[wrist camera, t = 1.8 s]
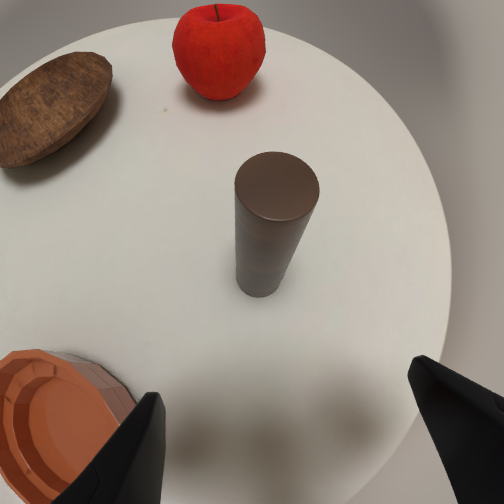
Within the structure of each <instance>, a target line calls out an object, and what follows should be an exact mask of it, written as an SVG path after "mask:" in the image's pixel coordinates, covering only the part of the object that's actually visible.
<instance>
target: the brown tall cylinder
mask: <svg viewBox="0 0 504 504" xmlns="http://www.w3.org/2000/svg"><path fill="white" fill-rule="evenodd" d="M319 192H320V191H319V183H318V180H317V177H316V175H315V173H314V172H313V170H312V169H311V168H310V167H309V166H308V165H307V164H306V163H305V162H304V161H302V160H301V159H299V158H297V157H295V156H293V155H290V154H287V153H283V152H265V153H261V154H257V155H255V156H253V157H251V158H250V159H248V160H247V161H246V162H244V164H243V165H242V166H241V167H240V168H239V170H238V172H237V174H236V177H235V244H236V279H237V283H238V285H239V287H240V288H241V289H242V291H244V292H245V293H246V294H248V295H250V296H253V297H265V296H268V295H270V294H272V293H273V292H274V291H275V290H276V289H277V288H278V286H279V284H280V282H281V280H282V278H283V275H284V273H285V271H286V269H287V267H288V265H289V263H290V261H291V258H292V256H293V254H294V252H295V250H296V248H297V245H298V243H299V241H300V239H301V237H302V235H303V232H304V230H305V228H306V226H307V224H308V221H309V219H310V217H311V215H312V213H313V210H314V208H315V206H316V204H317V201H318V198H319Z"/></svg>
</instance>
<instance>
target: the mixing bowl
mask: <svg viewBox="0 0 504 504" xmlns="http://www.w3.org/2000/svg"><path fill="white" fill-rule="evenodd" d="M135 406H136V404H135V402H134V401H133V399H132V398H131V396H130V395H129V393H128V391H127V390H126V388H125V387H124V386H123V385H122V384H121V383H119V382H118V381H117V380H116V379H114V378H113V377H112V376H111V375H110V374H108V373H107V372H106V371H105V370H104V369H103V368H102V367H100V366H99V365H98V364H95V363H92V362H90V361H87V360H84V359H81V358H79V357H76V356H73V355H70V354H64V353H57V352H52V351H46V350H40V349H32V350H22V351H12V352H11V353H10V354H8V355H7V356H6V357H5V358H3V359H2V360H1V361H0V473H1V475H2V477H3V478H4V480H5V482H6V483H7V485H8V486H9V487H10V488H11V489H12V490H13V491H14V492H15V493H16V494H17V495H18V496H19V497H20V498H21V499H22V500H23V501H24V502H25V503H26V504H50V503H51V502H52V501H53V500H54V499H55V498H56V497H57V496H58V495H59V494H60V493H62V492H63V491H64V490H65V489H66V488H67V487H68V486H69V485H70V484H71V483H72V482H73V481H74V480H75V479H76V478H77V477H78V476H79V475H80V473H81V472H82V471H83V470H84V469H85V468H86V466H87V465H88V464H89V463H90V461H92V459H93V458H94V457H95V455H96V454H97V453H98V452H99V450H100V449H101V448H102V447H103V446H104V444H105V443H106V442H107V441H108V439H109V438H110V437H111V436H112V434H113V433H114V432H115V431H116V429H117V428H118V427H119V426H120V425H121V423H122V422H123V421H124V420H125V418H126V417H127V416H128V415H129V413H130V412H131V411H132V410H133V408H134V407H135Z"/></svg>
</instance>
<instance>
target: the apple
mask: <svg viewBox="0 0 504 504" xmlns="http://www.w3.org/2000/svg"><path fill="white" fill-rule="evenodd" d="M172 48H173V52H174V57H175V61H176V65H177V67H178V69H179V70H180V72H181V74H182V75H183V77H184V79H185V80H186V82H187V83H188V84H189V85H190V86H191V87H193V88H194V89H195V90H196V91H197V92H198V93H199V94H201V95H202V96H204V97H205V98H208V99H210V100H226V99H230V98H233V97H236V96H237V95H238V94H239V93H240V92H241V91H242V90H244V89H245V88H246V87H247V86H248V84H249V83H250V82H251V80H252V79H253V78H254V76H255V75H256V73H257V72H258V70H259V68H260V67H261V65H262V62H263V59H264V56H265V53H266V48H265V34H264V30H263V26H262V24H261V22H260V20H259V18H258V16H257V15H256V14H255V13H253V12H252V11H251V10H249V9H248V8H246V7H245V6H241V5H232V4H213V5H206V6H200V7H196V8H193V9H191V10H189V11H188V12H187V13H186V14H185V15H183V16H182V17H181V19H180V20H179V22H178V24H177V27H176V29H175V31H174V36H173V42H172Z"/></svg>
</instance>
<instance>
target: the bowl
mask: <svg viewBox="0 0 504 504" xmlns="http://www.w3.org/2000/svg"><path fill="white" fill-rule="evenodd" d="M112 77H113V75H112V65H111V64H110V63H109V62H108V61H107V60H106V58H105V57H103V56H101V55H98V54H96V53H94V52H73V53H69V54H66V55H62V56H59V57H57V58H55V59H53V60H51V61H49V62H47V63H45V64H43V65H41V66H40V67H38V68H37V69H35V70H34V71H32V72H31V73H29V74H28V75H26V76H25V77H24V78H23V79H21V80H20V81H19V82H18V83H17V84H15V85H14V86H13V87H12V88H11V89H10V90H9V91H8V92H7V93H6V94H5V95H4V96H3V97H2V98H1V100H0V167H4V168H13V167H18V166H23V165H28V164H31V163H33V162H35V161H37V160H39V159H41V158H44V157H46V156H48V155H50V154H52V153H54V152H55V151H57V150H58V149H59V148H61V147H62V146H64V145H65V144H66V143H68V142H69V141H71V140H72V139H73V138H74V137H75V136H76V135H77V134H78V133H79V132H80V131H81V130H82V129H83V128H84V126H85V125H86V124H87V123H88V122H89V121H90V120H91V119H92V118H93V117H94V116H95V115H96V114H97V112H98V110H99V109H100V107H101V106H102V104H103V103H104V101H105V100H106V97H107V94H108V92H109V89H110V85H111V81H112Z"/></svg>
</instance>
